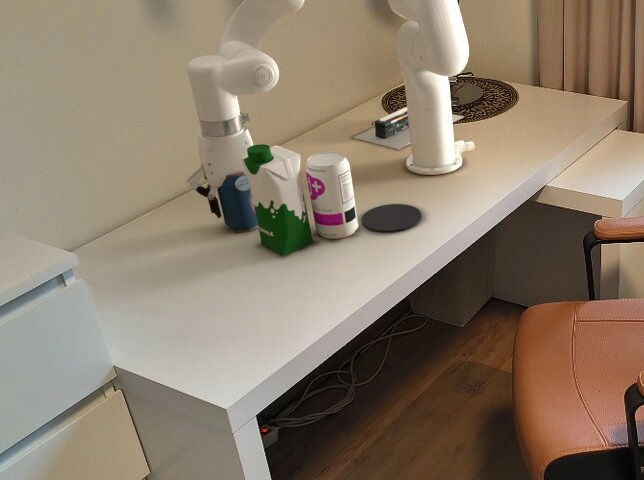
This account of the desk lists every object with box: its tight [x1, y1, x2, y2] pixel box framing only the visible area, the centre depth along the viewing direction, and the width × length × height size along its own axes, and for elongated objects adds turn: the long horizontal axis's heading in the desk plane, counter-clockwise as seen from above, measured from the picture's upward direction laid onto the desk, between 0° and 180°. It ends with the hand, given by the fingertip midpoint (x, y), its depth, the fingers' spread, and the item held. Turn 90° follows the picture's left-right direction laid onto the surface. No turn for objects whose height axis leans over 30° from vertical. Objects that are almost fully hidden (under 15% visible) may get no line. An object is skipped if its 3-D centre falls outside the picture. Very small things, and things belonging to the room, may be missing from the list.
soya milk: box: [240, 143, 314, 257], centre depth 168 cm, size 9×9×20 cm
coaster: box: [360, 203, 423, 234], centre depth 182 cm, size 12×12×1 cm
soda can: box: [217, 172, 258, 233], centre depth 178 cm, size 7×7×12 cm
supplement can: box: [304, 151, 359, 240], centre depth 174 cm, size 8×8×15 cm
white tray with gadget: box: [352, 106, 465, 150], centre depth 223 cm, size 14×25×4 cm, turn 146°
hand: (240, 209), depth 179 cm, fingers open, 8 cm apart
